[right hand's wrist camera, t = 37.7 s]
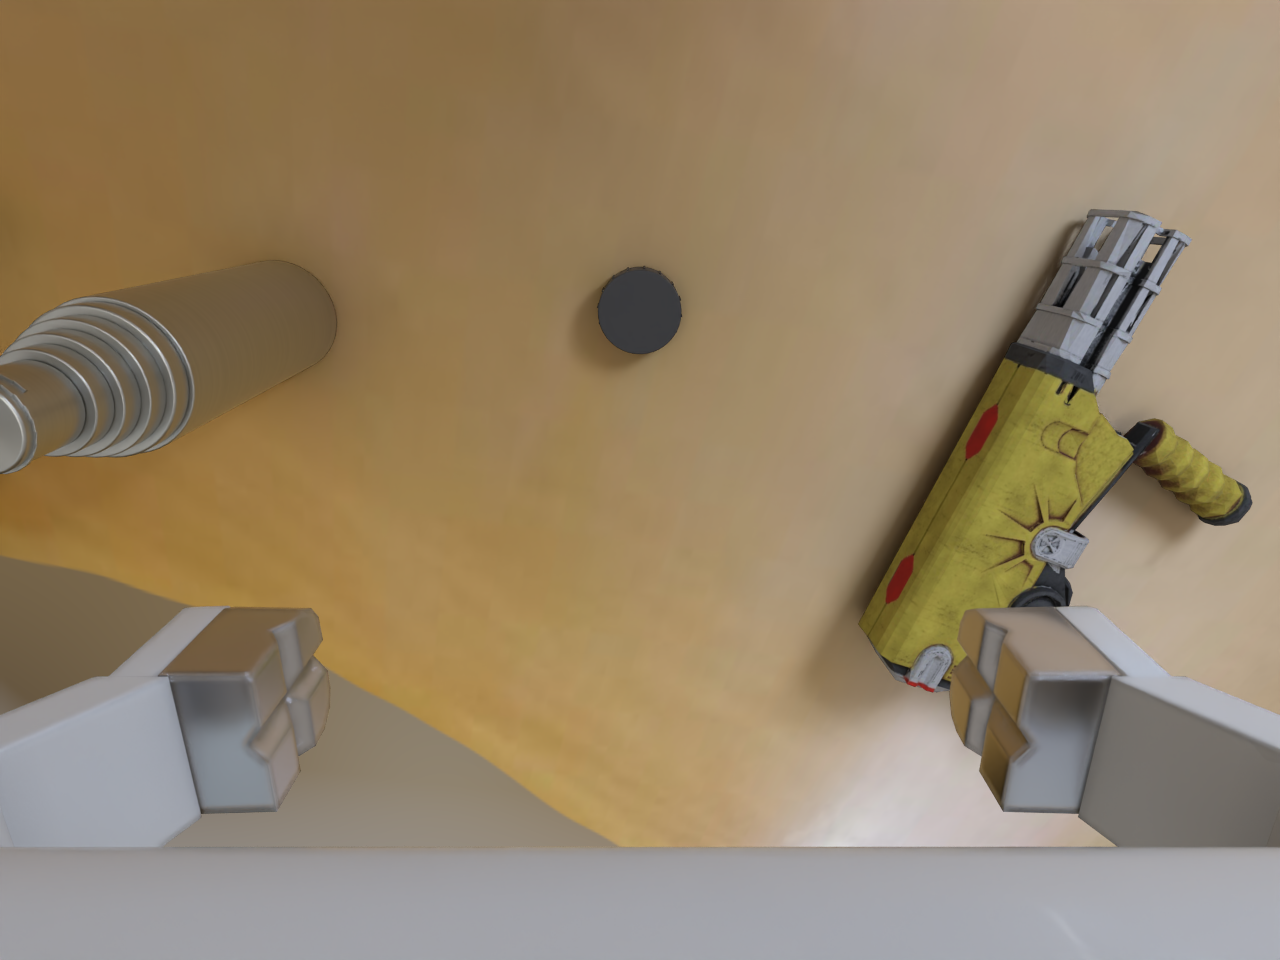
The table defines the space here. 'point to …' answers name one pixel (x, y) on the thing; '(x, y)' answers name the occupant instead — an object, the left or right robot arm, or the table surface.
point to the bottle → (156, 360)
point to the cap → (639, 310)
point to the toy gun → (1040, 461)
